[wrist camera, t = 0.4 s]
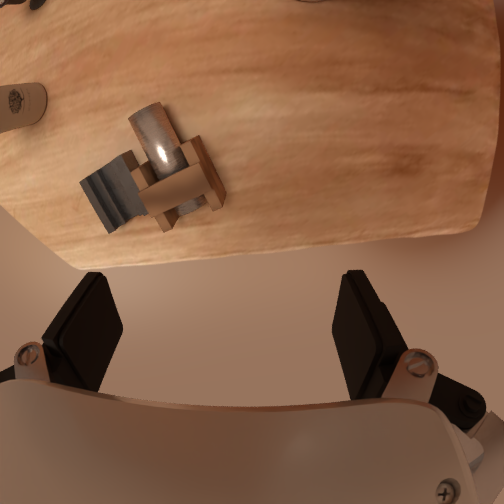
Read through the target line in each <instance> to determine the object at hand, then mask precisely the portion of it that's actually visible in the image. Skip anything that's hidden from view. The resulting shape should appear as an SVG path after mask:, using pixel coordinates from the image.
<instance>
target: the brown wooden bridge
mask: <svg viewBox="0 0 504 504" xmlns="http://www.w3.org/2000/svg"><path fill="white" fill-rule="evenodd" d="M180 147H181V149H182V151H183V153H184V155H185V157H186V159H187V161H188V163H189V165H190V166H189V167H187V168H184V169H182V170H180V171H178V172H176V173H174V174H172V175H170V176H168V177H166V178H164V179H162V180H160V181H159V179H158V177H157V175H156V173H155V171H154V169H153V167H152V166H151V164H150V162H149V161H147V162H145V163H144V164H142V165H141V166H139V167H138V168H136V169H135V170H133V171H132V172H130V173H131V175H132V177H133V179H134V181H135V183H136V184H137V186H138V188H139V190H140V192H138V195H139V197H140V199H141V200H142V202H143V204H144V206H145V208H146V209H147V211H148V213H149V215H150V216H151V218H152V217H155V219H156V220H157V222H158V224H159V226H160V227H161V229H162V231H163V233H164V232H166V231H169V230H171V229H172V228H173V227H174V225H175V223H176V221H177V219H178V218H179V215H178V214H177V213H176V211H175V209H174V207H176V206H178V205H180V204H182V203H184V202H187V201H189V200H191V199H193V198H196V197H198V196H200V195H202V194H204V195H205V197H206V199H207V202H208V203H209V205H210V207H211V209H212V211H215V210H218V209H220V208H222V207H223V204H224V200H225V196H226V191H225V189H224V187H223V185H222V182H221V180H220V178H219V176H218V174H217V172H216V170H215V168H214V166H213V164H212V162H211V159H210V157H209V155H208V153H207V151H206V149H205V147H204V145H203V143H202V141H201V139H200V136H199V135H198V136H196V137H194V138H192V139H190V140H188V141H185V142H183V143H181V145H180ZM207 202H206V203H207Z"/></svg>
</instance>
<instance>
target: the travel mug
mask: <svg viewBox="0 0 504 504" xmlns="http://www.w3.org/2000/svg"><path fill="white" fill-rule="evenodd" d="M45 107H46V92H45V89H44V88H43V86H42V85H41V84H39V83H24V84H13V85H5V86H0V133H3V132H6V131H10V130H13V129H17V128H20V127H24V126H27V125H31V124H34V123H36V122H37V121H38V120H39V119H40V118H41V117H42V115H43V113H44V110H45Z"/></svg>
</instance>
